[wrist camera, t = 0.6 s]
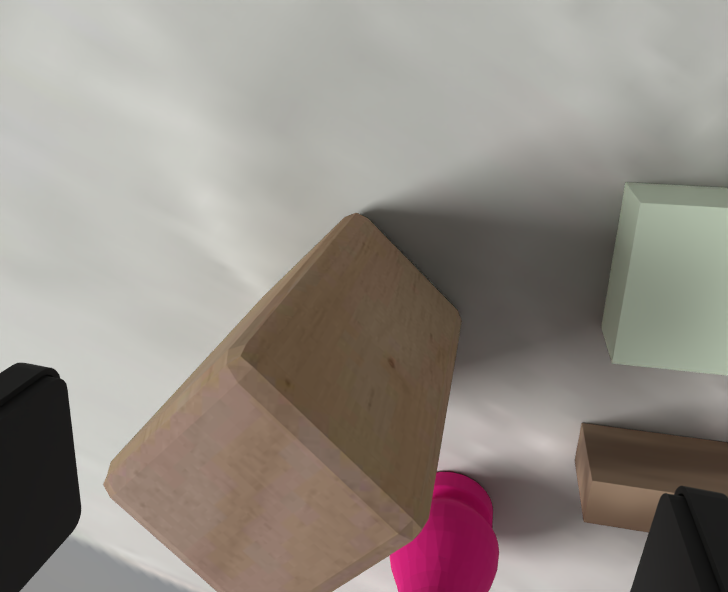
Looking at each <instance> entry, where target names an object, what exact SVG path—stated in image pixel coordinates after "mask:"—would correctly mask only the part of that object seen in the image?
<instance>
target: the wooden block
mask: <svg viewBox="0 0 728 592" xmlns="http://www.w3.org/2000/svg"><path fill="white" fill-rule="evenodd" d="M461 323H462V321H461V318H460V316H459V313H458V310H457V309H456V308H455V307H454V306H453V305H452V304H451V303H450V302H449V301H448V300H447V299H446V298H445V297H444V296H443V295H442V294H441V293H440V292H439V291H438V290H437V289H436V288H435V287H434V286H433V285H432V284H431V283H430V282H429V281H428V280H427V279H426V278H425V277H424V276H423V275H422V273H421V272H420V271H419V270H418V269H417V268H416V267H415V266H414V265H413V264H412V263H411V262H410V261H409V260H408V259H407V258H406V257H405V256H404V255H403V254H402V253H401V252H400V251H399V250H398V249H397V248H396V247H395V246H394V245H393V244H392V243H391V242H390V241H389V240H388V239H387V238H386V236H385V235H384V234H383V233H382V232H381V231H380V230H379V229H378V228H377V227H376V226H375V225H374V224H373V223H372V222H371V221H370V220H369V219H368V218H366V217H364V216H362V215H360V214H358V213H354V214H352V215H349V216H346V217H344V218H343V219H342V220H341V221H340V222H339V223H338V224H337V225H336V226H335V227H334V228H333V229H332V230H331V231H330V232H329V233H328V234H327V235H326V236H325V237H324V238H323V239H322V240H321V241H320V242H319V243H318V244H317V245H316V246H315V247H314V248H313V249H312V250H311V251H310V252H308V253H307V254H306V255H305V256H304V257H303V258H302V259H301V260H300V261H299V262H298V263H297V264H296V265H295V266H294V267H293V268H292V269H291V270H290V271H289V272H288V273H287V274H286V275H285V276H284V277H283V278H282V279H281V280H280V281H279V282H278V283H277V284H276V285H275V286H274V287H273V288H272V289H271V290H270V291H268V292H267V293H266V294H265V295H264V296H263V297H262V299H261V300H260V301H259V302H258V303H257V304H256V305H255V306H254V307H253V308H252V309H251V310H250V312H249V313H248V314H247V315H246V316H245V317H244V318H243V319H242V320H241V321H240V322H239V323H238V325H237V326H236V327H235V328H234V329H233V330H232V331H231V332H230V333H229V334H228V335H227V336H226V338H225V339H224V340H223V341H222V342H221V343H220V344H219V345H218V346H217V347H216V348H215V349H214V351H213V352H212V353H211V354H210V355H209V356H208V357H207V358H206V359H205V360H204V361H203V362H202V364H201V365H200V366H199V367H198V368H197V369H196V370H195V371H194V372H193V373H192V374H191V375H190V377H189V378H188V379H187V380H186V381H185V382H184V383H183V384H182V385H181V386H180V387H179V388H178V390H177V391H176V392H175V393H174V394H173V395H172V396H171V397H170V398H169V399H168V400H167V401H166V403H165V404H164V405H163V406H162V407H161V408H160V409H159V410H158V411H157V412H156V413H155V415H154V416H153V417H152V418H151V419H150V420H149V421H148V422H147V423H146V424H145V425H144V426H143V428H142V429H141V430H140V431H139V432H138V433H137V434H136V435H135V436H134V437H133V438H132V439H131V441H130V442H129V443H128V444H127V445H126V446H125V447H124V448H123V449H122V450H121V451H120V452H119V454H118V455H117V456H116V457H115V458H114V459H113V460H112V461H111V463H110V467H109V470H108V474H107V477H106V479H105V482H104V484H103V485H104V487H105V489H106V491H107V492H108V494H109V496H110V498H111V499H112V500H114V501H115V502H116V503H117V504H118V505H119V506H120V507H122V508H123V509H124V510H125V511H126V512H127V513H128V514H130V515H131V516H132V517H133V518H134V519H135V520H136V521H137V522H139V523H140V524H141V525H142V526H143V527H144V528H145V529H147V530H148V531H149V532H150V533H151V534H152V535H153V536H155V537H156V538H157V539H158V540H159V541H160V542H161V543H162V544H164V545H165V546H166V547H167V548H168V549H169V550H170V551H172V552H173V553H174V554H175V555H176V556H177V557H178V558H180V559H181V560H182V561H183V562H184V563H185V564H186V565H187V566H189V567H190V568H191V569H192V570H193V571H194V572H195V573H197V574H198V575H199V576H200V577H201V578H202V579H203V580H205V581H206V582H207V583H208V584H209V585H210V586H211V587H212V588H214V589H215V590H216V591H217V592H332V591H334V590H335V589H337V588H339V587H340V586H342V585H343V584H345V583H347V582H348V581H350V580H351V579H353V578H354V577H356V576H358V575H359V574H361V573H362V572H364V571H366V570H367V569H369V568H370V567H372V566H373V565H375V564H377V563H378V562H380V561H381V560H383V559H385V558H386V557H388V556H389V555H391V554H392V553H394V552H396V551H397V550H399V549H400V548H402V547H404V546H405V545H407V544H408V543H410V542H411V541H413V540H414V539H415V538H416V537H417V536H418V534H419V533H420V532H421V531H422V529H423V527H424V526H425V524H426V522H427V521H428V519H429V514H430V508H431V502H432V496H433V490H434V484H435V478H436V472H437V466H438V460H439V454H440V448H441V442H442V436H443V430H444V424H445V418H446V412H447V406H448V400H449V394H450V388H451V382H452V376H453V370H454V364H455V358H456V352H457V346H458V341H459V335H460V329H461Z"/></svg>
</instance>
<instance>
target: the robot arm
mask: <svg viewBox="0 0 728 592" xmlns="http://www.w3.org/2000/svg"><path fill="white" fill-rule="evenodd" d="M80 515H81V501H80V493H79V484H78V475H77V467H76V458H75V450H74V441H73V433H72V424H71V415H70V407H69V398H68V390H67V385H66V383H65V381H64V380H62V379H60V376H59V374H58V372H57V371H56V370H55V369H53V368H49V367H43V366H38V365H33V364H27V363H16V364H14V365H12V366H11V367H9V368H7V369H6V370H4V371H3V372H1V373H0V592H19V591H20V590H21V589H22V588H23V587H24V586H25V585H26V584H27V582H28V581H29V580H30V579H31V578H32V577H33V576H34V575H35V573H36V572H37V571H38V570H39V569H40V568H41V567H42V566H43V564H44V563H45V562H46V561H47V560H48V559H49V558H50V556H51V555H52V554H53V553H54V552H55V551H56V550H57V549H58V548H59V546H60V545H61V544H62V543H63V542H64V541H65V540H66V539H67V537H68V536H69V535H70V534H71V533H72V532H73V530H74V529H75V528H76V526H77V524H78V521H79V519H80ZM630 592H728V497H727V496H726V495H725V494H723V493H719V492H714V491H708V490H703V489H698V488H692V487H687V486H679V487H678V488H677V489H676V490H675V493H674V495H673V494H668V493H664V494H662V496H661V497H660V500H659V502H658V505H657V508H656V512H655V515H654V518H653V521H652V524H651V527H650V531H649V534H648V537H647V540H646V543H645V547H644V550H643V553H642V556H641V559H640V562H639V566H638V569H637V572H636V575H635V578H634V582H633V585H632V588H631V591H630Z"/></svg>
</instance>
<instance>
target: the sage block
mask: <svg viewBox="0 0 728 592" xmlns="http://www.w3.org/2000/svg"><path fill="white" fill-rule="evenodd" d="M601 328H602V332H603V335H604V339H605V342H606V345H607V349H608V352H609V355H610V359H611V362H612V364H620V365H630V366H640V367H649V368H659V369H669V370H678V371H688V372H698V373H707V374H717V375H727V376H728V188H724V187H705V186H686V185H667V184H648V183H629V182H625V187H624V193H623V199H622V205H621V211H620V217H619V223H618V229H617V235H616V241H615V247H614V253H613V259H612V265H611V271H610V277H609V283H608V289H607V295H606V301H605V307H604V313H603V319H602V325H601Z"/></svg>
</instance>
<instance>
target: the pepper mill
mask: <svg viewBox="0 0 728 592" xmlns="http://www.w3.org/2000/svg"><path fill="white" fill-rule="evenodd" d="M492 522H493V507H492V502H491V500H490V497H489V496H488V494H487V493H486V491H485V490H484V489H483V488H482V487H481V486H480V485H479V484H478V483H477V482H476V481H474V480H472V479H470V478H469V477H467V476H465V475H461V474H457V473H454V472H437V473H436V478H435V484H434V490H433V496H432V502H431V508H430V514H429V519H428V521H427V522H426V524H425V526H424V527H423V529H422V531H421V532H420V533H419V534H418V536H417V537H416V538H415V539H414V540H413V541H411V542H410V543H408V544H407V545H405V546H404V547H402V548H400V549H399V550H397V551H396V552H394V553H392V554H391V555H390V562H391V569H392V573H393V576H394V579H395V582H396V585H397V588H398V592H488V591H489V590H490V588H491V585H492V583H493V580H494V578H495V575H496V572H497V567H498V558H499V547H498V541H497V538H496V535H495V533H494V531H493V529H492Z"/></svg>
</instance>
